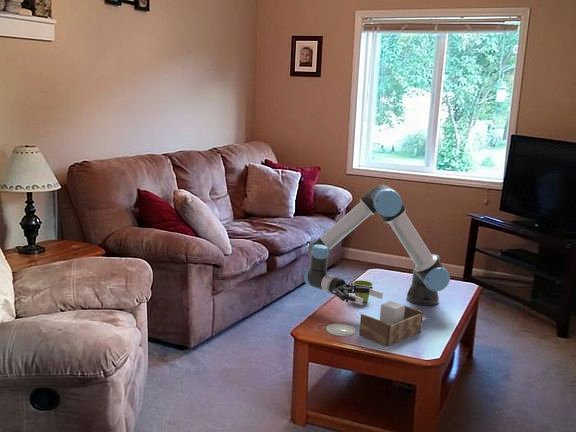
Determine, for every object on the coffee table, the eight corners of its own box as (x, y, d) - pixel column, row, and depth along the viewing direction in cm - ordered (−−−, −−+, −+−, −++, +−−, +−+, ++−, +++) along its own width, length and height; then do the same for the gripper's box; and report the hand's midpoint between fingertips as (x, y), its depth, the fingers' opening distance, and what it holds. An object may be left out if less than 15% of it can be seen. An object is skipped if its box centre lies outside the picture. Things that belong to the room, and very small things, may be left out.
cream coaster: (338, 322, 259) (339, 321, 259) (361, 331, 251) (361, 330, 251) (320, 329, 251) (320, 328, 251) (342, 338, 243) (342, 337, 243)
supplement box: (403, 334, 251) (405, 305, 248) (392, 338, 246) (395, 309, 243) (388, 328, 256) (390, 300, 253) (377, 333, 251) (380, 304, 248)
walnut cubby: (393, 322, 264) (395, 302, 262) (420, 332, 255) (423, 311, 253) (359, 335, 247) (360, 314, 245) (387, 346, 238) (389, 324, 236)
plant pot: (348, 301, 287) (350, 283, 286) (355, 296, 296) (356, 278, 294) (367, 305, 283) (369, 287, 282) (373, 299, 292) (375, 282, 290)
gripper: (350, 288, 279) (388, 301, 265) (314, 298, 261) (352, 313, 247) (352, 272, 277) (390, 285, 263) (315, 281, 260) (354, 295, 245)
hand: (372, 298), depth 255 cm, fingers open, 13 cm apart
